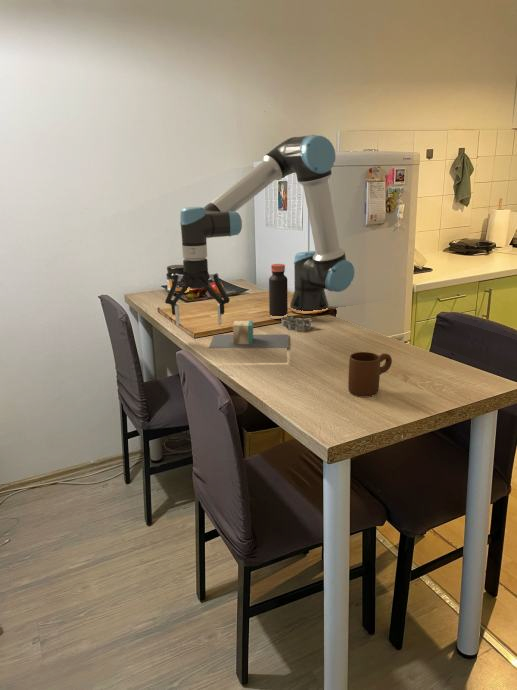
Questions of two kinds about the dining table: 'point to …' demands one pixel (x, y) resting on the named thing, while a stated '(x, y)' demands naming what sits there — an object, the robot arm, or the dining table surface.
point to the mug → (366, 372)
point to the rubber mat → (258, 341)
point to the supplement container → (170, 277)
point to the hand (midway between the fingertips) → (198, 324)
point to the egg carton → (297, 323)
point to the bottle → (278, 291)
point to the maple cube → (243, 332)
